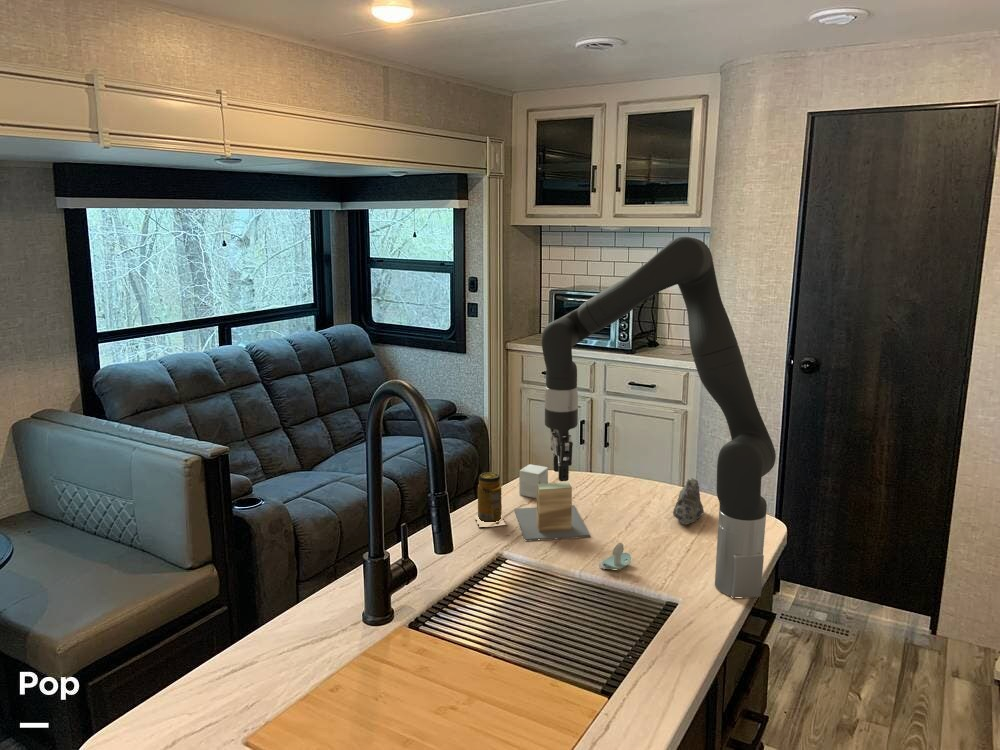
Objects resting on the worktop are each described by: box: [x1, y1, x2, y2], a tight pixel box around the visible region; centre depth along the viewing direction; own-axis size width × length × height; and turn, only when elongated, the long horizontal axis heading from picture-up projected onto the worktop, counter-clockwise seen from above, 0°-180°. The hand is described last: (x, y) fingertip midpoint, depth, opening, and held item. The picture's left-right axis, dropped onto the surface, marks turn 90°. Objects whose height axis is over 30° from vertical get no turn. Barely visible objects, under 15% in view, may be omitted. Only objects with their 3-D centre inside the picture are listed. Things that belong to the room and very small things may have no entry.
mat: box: [513, 504, 591, 541], centre depth 193 cm, size 18×16×1 cm
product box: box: [518, 463, 549, 499], centre depth 211 cm, size 6×6×7 cm
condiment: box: [477, 471, 503, 522], centre depth 194 cm, size 7×8×12 cm
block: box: [536, 481, 573, 532], centre depth 188 cm, size 4×8×11 cm, turn 97°
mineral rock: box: [672, 478, 705, 525], centre depth 195 cm, size 13×11×10 cm
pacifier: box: [598, 542, 632, 570], centre depth 170 cm, size 7×6×6 cm
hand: (560, 475), depth 177 cm, fingers open, 5 cm apart
